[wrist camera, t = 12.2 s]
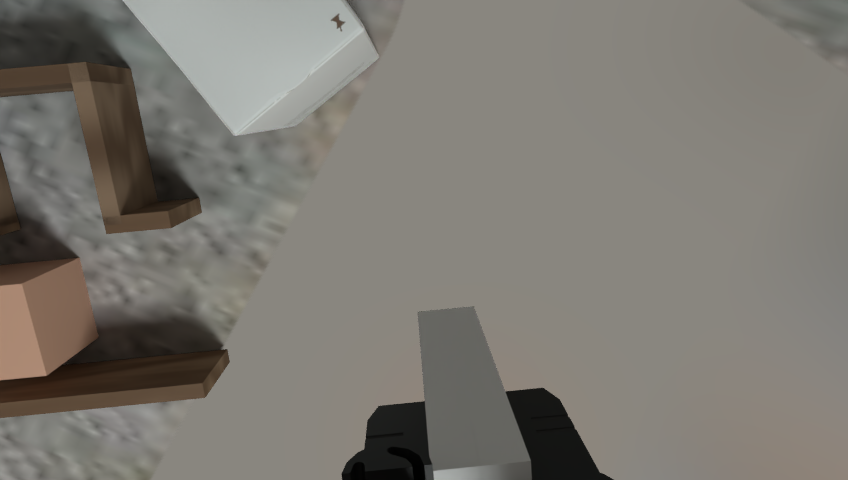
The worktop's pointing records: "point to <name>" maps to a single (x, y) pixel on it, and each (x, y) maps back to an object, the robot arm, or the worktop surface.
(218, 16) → the supplement box
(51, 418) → the worktop surface
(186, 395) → the low walled maze tray
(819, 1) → the worktop surface
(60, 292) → the block
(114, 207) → the frame
